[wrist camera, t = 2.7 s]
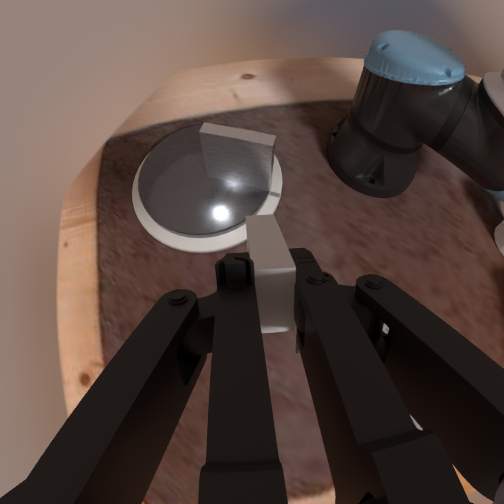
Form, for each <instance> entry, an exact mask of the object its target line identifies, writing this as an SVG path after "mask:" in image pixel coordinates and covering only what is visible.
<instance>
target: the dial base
mask: <svg viewBox="0 0 504 504" xmlns="http://www.w3.org/2000/svg"><path fill="white" fill-rule="evenodd" d="M147 156H148V155H147ZM147 156H146V157H147ZM146 157H145V159H146ZM145 159H144V160H143V162H142V163H141V165H140V167H139V168H138V171H137V173H136V176H135V179H134V183H133V189H132V200H133V205H134V209H135V212H136V215H137V217H138V219H139V220H140V222H141V224H142V225H143V227H144V228H145V229H146V230H147V231H148V233H149V234H150V235H151V236H153V237H154V238H155V239H156V240H157V241H159V242H161V243H162V244H164V245H166V246H168V247H170V248H172V249H176V250H179V251H182V252H189V253H213V252H218V251H223V250H227V249H229V248H232V247H235V246H237V245H239V244H241V243H243V242H245V241H247V232H246V224H244V225H243V226H241V227H239V228H237V229H236V230H233V231H231V232H229V233H226V234H223V235H219V236H215V237H209V238H188V237H184V236H179V235H176V234H173V233H171V232H169V231H167V230H165V229H163V228H162V227H160V226H159V225H158V224H156V223H155V222H154V221H153V220H152V218H151V217H150V216H149V214H148V213H147V211H146V210H145V208H144V206H143V204H142V202H141V200H140V196H139V192H138V178H139V173H140V170H141V167H142V165H143V163H144V161H145ZM281 190H282V173H281V168H280V165H279V162H278V160H277V158H276V156H275V155H274V164H273V175H272V184H271V189H270V193H269V195H268V198H267V200H266V202H265V204H264V205H263V207H262V208H261V209H260V211H259V212H258V213H257V214H256V215H267V214H274V213H275V211H276V208H277V206H278V204H279V200H280V197H281Z"/></svg>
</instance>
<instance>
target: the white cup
mask: <svg viewBox="0 0 504 504" xmlns="http://www.w3.org/2000/svg"><path fill="white" fill-rule="evenodd" d="M494 237H495V242H496V245H497V247H498V249H499V251H500V252H501V253H502V255H503V256H504V220H503V221H502V222H501V223H500V224H499V225H498V226H497V227H496V228H495V232H494Z"/></svg>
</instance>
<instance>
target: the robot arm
mask: <svg viewBox="0 0 504 504" xmlns="http://www.w3.org/2000/svg"><path fill="white" fill-rule="evenodd" d="M465 74H466V71H465V64H464V62H463V60H462V59H461V58H460V57H459V56H458V55H457V54H456V53H454V52H452V51H451V49H450V48H449V47H447V46H445V45H444V44H442V43H440V42H438V41H436V40H434V39H432V38H429V37H427V36H424V35H421V34H417V33H414V32H409V31H401V30H390V31H385V32H382V33H380V34H378V35H377V36H376V37H375V38H374V40H373V42H372V44H371V47H370V49H369V52H368V55H367V56H366V57H365V59H364V67H363V71H362V74H361V77H360V81H359V84H358V87H357V91H356V94H355V97H354V100H353V104H352V107H351V110H350V111H349V112H348V113H347V115H346V116H345V117H344V118H343V119H342V120H341V121H340V122H339V123H338V124H337V126H336V127H335V128H334V129H333V131H332V133H331V135H330V138H329V142H328V145H327V156H328V159H329V162H330V165H331V166H332V168H333V170H334V171H335V173H336V174H337V175H338V176H339V177H340V178H341V179H342V180H343V181H344V182H345V183H346V184H347V185H349V186H350V187H352V188H353V189H355V190H357V191H359V192H361V193H363V194H366V195H369V196H373V197H378V198H389V197H394V196H397V195H399V194H401V193H402V192H404V191H405V190H406V189H407V187H408V186H409V185H410V183H411V182H412V180H413V179H414V176H415V174H416V168H417V163H418V158H419V152H420V148H421V146H422V145H423V143H424V144H426V145H427V146H429V147H430V148H432V149H433V150H435V151H436V152H437V153H439V154H440V155H441V156H443V157H444V158H446V159H447V160H448V161H450V162H451V163H452V164H454V165H455V166H456V167H458V168H459V169H460V170H462V171H463V172H464V173H466V174H467V175H468V176H469V177H471V178H472V179H473V180H474V181H476V182H477V183H478V184H479V186H480V187H481V188H482V189H484V190H485V191H487V192H490V193H491V194H492V195H494V196H495V197H496V198H497V199H499V200H501V201H503V202H504V69H503V71H502V72H488V73H486V74H485V75H484V77H483V78H482V80H481V82H480V83H479V84H478V83H477V82H475V81H474V80H472V79H471V78H470V77H468V76H467V75H465ZM246 232H247V250H248V252H245V253H229V254H226V255H225V256H224V257H223V258H222V259H220V260H219V261H217V262H216V264H215V270H216V279H217V291H216V292H215V293H213V294H211V295H209V296H206V297H202V298H198V299H197V296H196V294H195V293H194V292H192V291H190V290H185V289H184V290H180V289H177V290H173V291H170V292H168V293H166V294H164V295H163V296H162V297H161V298H160V299H159V300H158V301H157V303H156V304H155V305H154V306H153V308H152V309H151V310H150V311H149V312H148V314H147V315H146V316H145V317H144V319H143V320H142V321H141V323H140V324H139V325H138V326H137V328H136V329H135V330H134V331H133V333H132V334H131V335H130V336H129V338H128V339H127V340H126V342H125V343H124V344H123V345H122V347H121V348H120V349H119V351H118V352H117V353H116V354H115V356H114V357H113V358H112V360H111V361H110V362H109V364H108V365H107V366H106V368H105V369H104V370H103V372H102V373H101V374H100V375H99V377H98V378H97V379H96V381H95V382H94V383H93V385H92V386H91V387H90V389H89V390H88V392H87V393H86V394H85V396H84V397H83V398H82V400H81V401H80V402H79V404H78V405H77V407H76V408H75V409H74V411H73V412H72V413H71V415H70V416H69V418H68V419H67V420H66V422H65V423H64V425H63V426H62V428H61V429H60V430H59V432H58V433H57V435H56V436H55V437H54V439H53V440H52V442H51V443H50V445H49V446H48V447H47V449H46V450H45V452H44V454H43V455H42V456H41V458H40V459H39V461H38V462H37V464H36V465H35V467H34V468H33V470H32V471H31V473H30V474H29V476H28V477H27V479H26V480H24V481H23V482H22V483H20V484H19V485H18V486H16V487H15V488H13V489H12V490H11V491H9V492H8V493H6V494H5V495H4V496H2V497H1V498H0V504H142V502H143V499H144V497H145V495H146V493H147V490H148V488H149V486H150V484H151V482H152V479H153V477H154V475H155V473H156V471H157V468H158V466H159V464H160V462H161V459H162V457H163V455H164V453H165V451H166V448H167V446H168V444H169V442H170V439H171V437H172V435H173V433H174V431H175V428H176V426H177V424H178V422H179V419H180V417H181V415H182V413H183V411H184V408H185V406H186V404H187V402H188V399H189V397H190V395H191V393H192V390H193V388H194V386H195V384H196V382H197V379H198V377H199V375H200V373H201V370H202V368H203V366H204V364H205V361H206V359H207V353H211V352H212V361H211V376H210V392H209V410H208V429H207V451H206V463H205V465H204V466H202V468H201V471H200V479H199V500H198V504H288V501H287V494H286V488H285V481H284V474H283V468H282V464H281V462H280V461H279V456H278V449H277V442H276V435H275V427H274V420H273V413H272V405H271V398H270V391H269V384H268V376H267V369H266V362H265V354H264V347H263V339H262V333H271V332H283V331H294V326H295V323H296V326H297V335H296V353H299V350H300V354H301V358H302V361H303V365H304V369H305V373H306V376H307V380H308V384H309V388H310V392H311V396H312V399H313V403H314V407H315V411H316V415H317V419H318V423H319V427H320V431H321V435H322V439H323V443H324V447H325V451H326V455H327V459H328V463H329V467H330V471H331V475H332V480H333V484H334V488H335V495H336V499H335V504H473V503H471V502H469V500H468V498H467V495H466V493H465V491H464V489H463V486H462V484H461V482H460V480H459V478H458V476H457V474H456V471H455V469H454V467H453V465H454V466H455V468H456V469H457V470H458V471H459V472H460V474H461V475H462V476H463V477H464V478H465V479H466V480H467V481H468V482H469V483H470V484H471V486H472V487H473V488H475V489H476V490H477V491H478V492H480V493H481V494H482V495H484V496H485V497H487V498H488V499H490V500H492V501H493V504H504V369H503V368H502V367H501V366H499V365H498V364H497V363H496V362H495V361H493V360H492V359H491V358H490V357H488V356H487V355H486V354H485V353H484V352H482V351H481V350H480V349H479V348H477V347H476V346H475V345H474V344H472V343H471V342H470V341H469V340H467V339H466V338H465V337H464V336H462V335H461V334H460V333H459V332H457V331H456V330H455V329H453V328H452V327H451V326H450V325H448V324H447V323H446V322H444V321H443V320H442V319H441V318H439V317H438V316H437V315H435V314H434V313H433V312H431V311H430V310H429V309H427V308H426V307H425V306H423V305H422V304H421V303H419V302H418V301H417V300H415V299H414V298H413V297H411V296H410V295H408V294H407V293H406V292H404V291H403V290H402V289H400V288H399V287H397V286H396V285H395V284H393V283H392V282H391V281H389V280H388V279H386V278H384V277H381V276H378V275H375V274H369V275H363V276H361V277H359V278H358V279H357V280H356V286H345V285H339V284H337V282H336V280H335V279H334V277H333V276H332V275H331V274H329V273H326V272H322V270H321V268H320V267H319V265H318V263H317V262H316V260H315V258H314V256H313V254H312V253H311V252H310V251H309V250H307V249H305V248H293V249H288V247H287V245H286V242H285V240H284V238H283V235H282V233H281V231H280V228H279V226H278V224H277V221H276V219H275V217H274V214H267V215H250V216H246ZM384 324H386V325H387V327H388V328H389V331H388V334H386V333H385V332H384V331H383V326H384ZM410 415H411V416H412V417H413V419H414V420H415V421H416V422H417V423H418V424H419V426H420V427H421V428H422V429H423V430H419V429H418V428H417V427H416V426H415V424H414V422H413V420H412V418H411V416H410ZM452 464H453V465H452Z"/></svg>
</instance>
